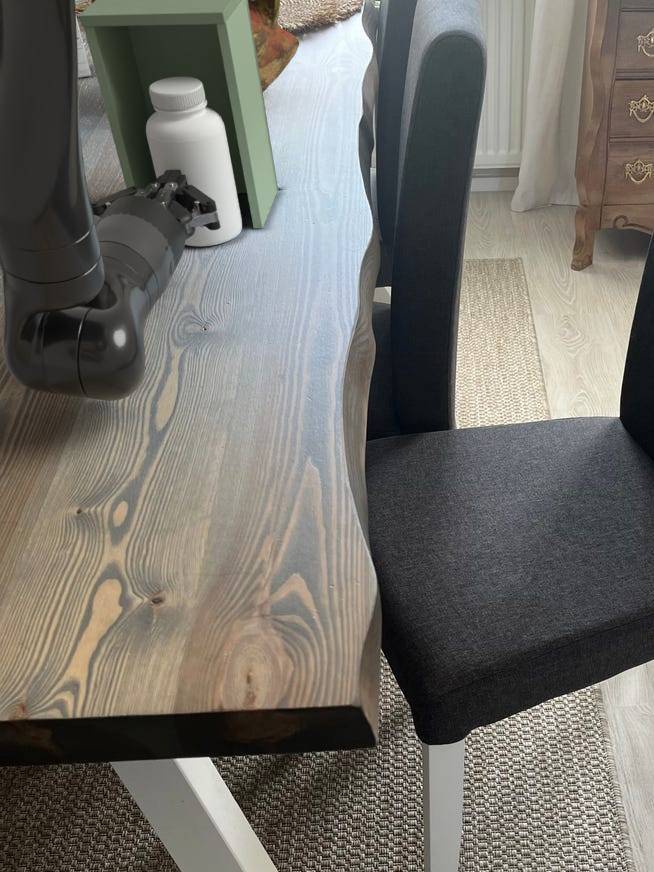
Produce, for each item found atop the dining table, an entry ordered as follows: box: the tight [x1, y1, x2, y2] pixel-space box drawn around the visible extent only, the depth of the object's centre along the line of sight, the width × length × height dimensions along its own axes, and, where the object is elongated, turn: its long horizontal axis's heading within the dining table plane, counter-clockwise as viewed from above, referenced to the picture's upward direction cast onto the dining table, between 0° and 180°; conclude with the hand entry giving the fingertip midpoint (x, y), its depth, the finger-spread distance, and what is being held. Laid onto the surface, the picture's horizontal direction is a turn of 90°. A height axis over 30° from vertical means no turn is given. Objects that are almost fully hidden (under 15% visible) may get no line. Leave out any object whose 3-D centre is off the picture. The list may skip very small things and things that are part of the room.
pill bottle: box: [146, 77, 243, 247], centre depth 105 cm, size 8×8×15 cm
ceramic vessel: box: [91, 0, 300, 93], centre depth 132 cm, size 17×26×25 cm, turn 108°
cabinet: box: [78, 0, 279, 229], centre depth 108 cm, size 12×14×21 cm
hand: (175, 179), depth 103 cm, fingers closed
